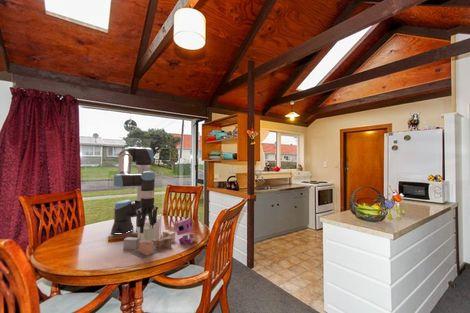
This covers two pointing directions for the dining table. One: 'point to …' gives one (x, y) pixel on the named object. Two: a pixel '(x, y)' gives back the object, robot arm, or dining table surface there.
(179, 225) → the toy
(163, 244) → the walnut brick
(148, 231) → the sage brick
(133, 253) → the felt mat
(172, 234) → the maple brick
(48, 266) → the dining table surface
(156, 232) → the castle model
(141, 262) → the dining table surface
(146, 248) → the terracotta brick
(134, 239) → the grey brick
